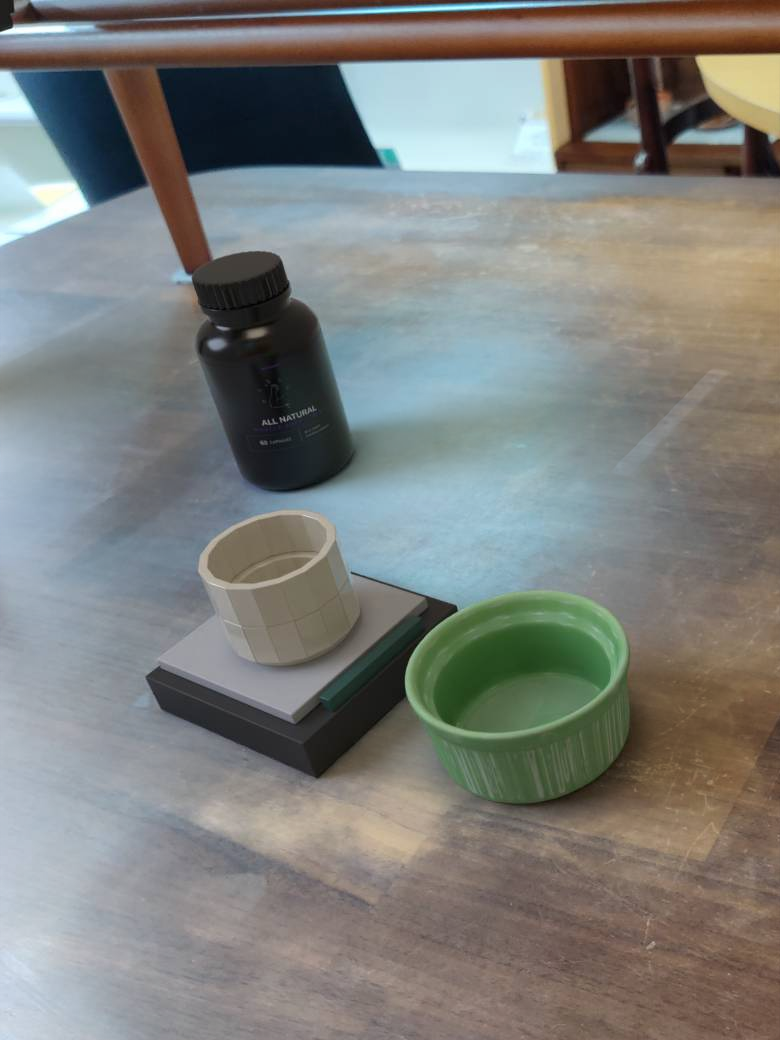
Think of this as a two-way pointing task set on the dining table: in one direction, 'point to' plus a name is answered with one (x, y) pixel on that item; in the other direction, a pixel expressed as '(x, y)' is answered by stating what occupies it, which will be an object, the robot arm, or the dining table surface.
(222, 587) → the cream bowl
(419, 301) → the dining table surface
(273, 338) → the supplement bottle
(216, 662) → the kitchen scale
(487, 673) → the ramekin
